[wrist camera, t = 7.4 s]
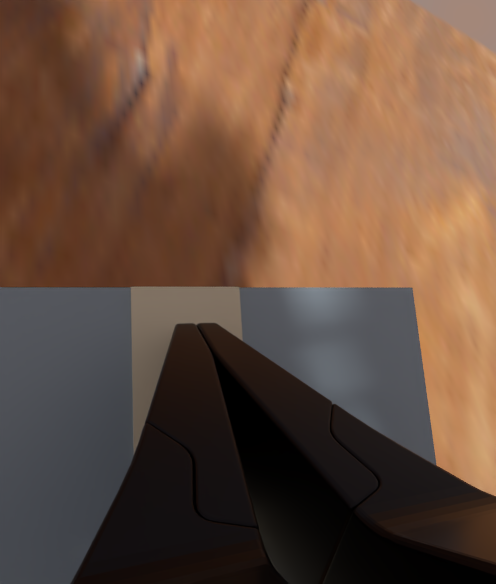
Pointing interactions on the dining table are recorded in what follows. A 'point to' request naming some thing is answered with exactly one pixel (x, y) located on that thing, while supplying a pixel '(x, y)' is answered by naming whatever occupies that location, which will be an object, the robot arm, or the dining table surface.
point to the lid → (142, 383)
